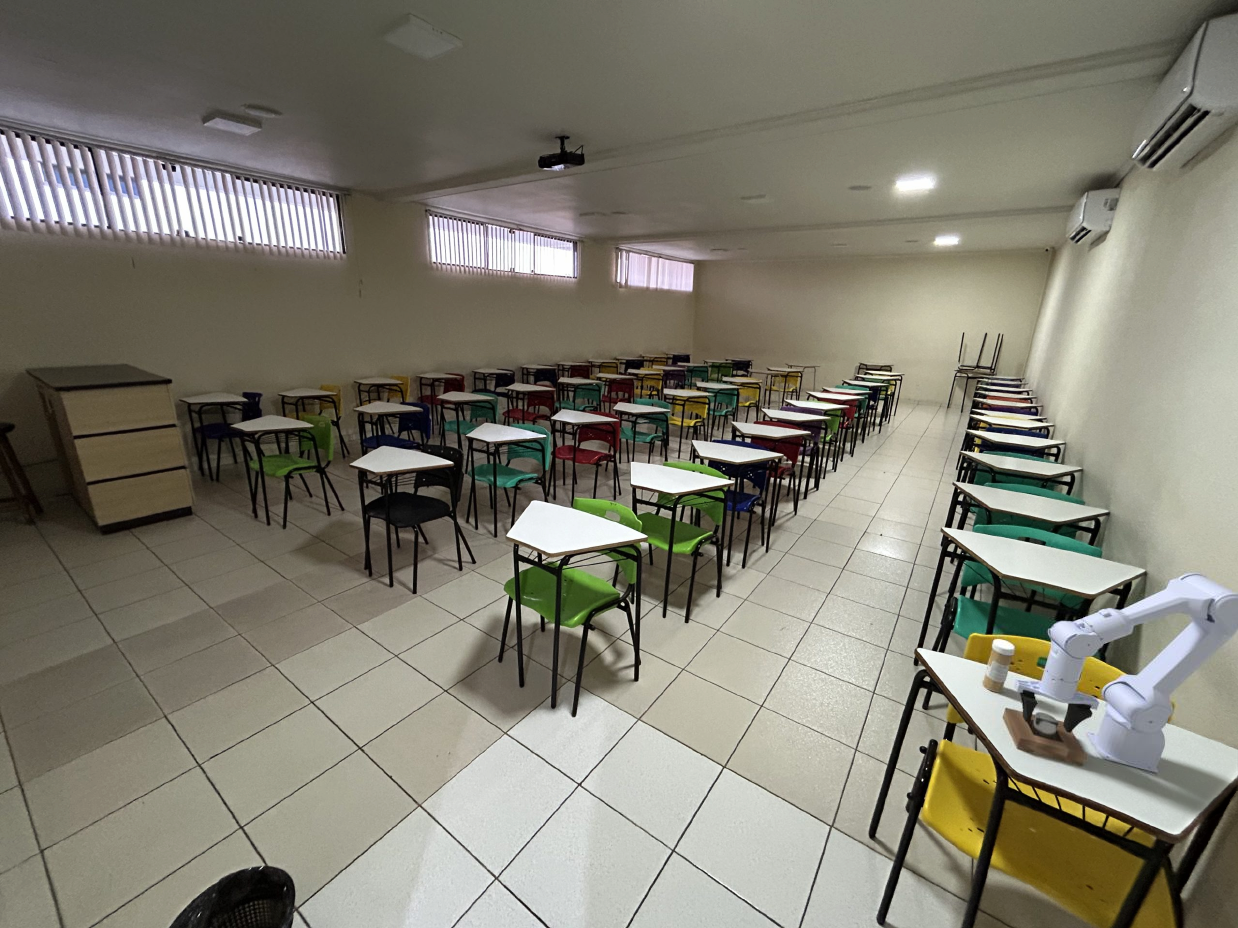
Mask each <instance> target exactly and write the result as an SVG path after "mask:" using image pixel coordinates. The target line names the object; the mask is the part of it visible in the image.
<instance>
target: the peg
mask: <svg viewBox="0 0 1238 928" xmlns="http://www.w3.org/2000/svg"><path fill="white" fill-rule="evenodd" d="M1034 715H1035V718H1034V721H1033V725H1032V728H1031V731H1032V733H1033V735H1035V736H1039V737H1043V738H1047V739H1051V740H1053V738H1054V735H1055V732H1056V729H1057V726H1058V721H1059V720H1058V719H1056V717H1054V716H1052V715H1051V714H1049V713H1045V712H1041V711H1038V712H1036V713H1035V714H1034ZM1057 720H1058V721H1057Z"/></svg>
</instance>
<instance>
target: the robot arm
mask: <svg viewBox="0 0 1238 928" xmlns="http://www.w3.org/2000/svg"><path fill="white" fill-rule="evenodd" d="M1178 613H1179V614H1183V615H1186V616H1188V615H1189V617H1190V620H1191V622H1190V623H1189V624H1188V625H1187V626H1186V627H1185V628H1184V629H1183V630H1182V631H1181V632H1180V633H1179V634H1178V635H1177V636H1176V637H1175V638H1174V639H1173V640H1172V641H1171V642H1170V643H1169V644H1168V645H1167V646H1166V647H1165V648H1164V649H1163V650H1162V651H1160V652H1159V654H1157V656H1156V657H1154V658H1153V660H1151V662H1149V663H1148V664H1147V665H1146V666H1145V667H1144V668H1143V669H1142V670H1141V671H1140V672H1139V673H1138V674H1137V675H1135V674H1121V675H1120V676H1119V677H1118V678H1117V679H1115V680H1113V681H1110V682H1108V683H1107V684H1106V685H1104V686H1103V688H1102V690H1101V696H1102V699H1103V700H1104V701H1105V704H1104V707H1105V712H1104V714H1103V718H1102V720H1101V723H1100V727H1099V729H1098V732H1097V733H1095V732H1091V731H1090V732H1089V731H1088V732H1087V733H1086V734H1087V737H1088V738H1089V739H1090V741H1091V743H1092V745H1094V747H1095V749H1096V750H1097V752H1098V753H1099V755H1100V757H1102V759H1104V760H1107V761H1110V762H1114V763H1118V764H1122V765H1125V766H1130V767H1134V768H1138V769H1142V770H1146V771H1149V772H1154V773H1158V772H1159V770H1158V769H1157V767H1158V764H1159V762H1160V759H1161V757H1162V754H1163V752H1164V750H1165V748H1166V739H1165V734H1164V732H1163V729H1164V728H1165V726H1166V725H1167V723H1168V720H1169V718H1170V717H1171V716H1172V714H1174V708H1173V704H1172V700H1171V697H1170V696H1171V695H1172V694H1173V693H1174V692H1175V691H1176V690H1177V689H1178V688H1179V687H1180V686H1181V685H1183V683H1184V682H1185V681H1186V680H1187V679H1188V678H1190V677H1191V676H1192V675H1193V674H1194V673H1195V672H1196V671H1197V670H1198V669H1199V668H1200V667H1202V666H1203V664H1205V663H1206V662H1207V661H1208V660H1209V659H1210V658H1211V657H1212V656H1214V655H1215V654H1216V652H1218V651H1219V650H1220V649H1221V648H1222V647H1223V646H1224V645H1225V644H1227V642H1229V640H1230V639H1232V638H1233V637H1234V636H1235V635H1236V633H1237V631H1238V593H1237V592H1235V591H1234V590H1231V589H1230V588H1228V587H1226V586H1225V585H1222V584H1220V583H1217V582H1216V581H1214V580H1212V579H1210V578H1208V577H1207V576H1206V575H1204V574H1202V573H1198V572H1189V573H1185V574H1183V575H1181V576H1179V577H1178V578H1174V579H1171V580H1170V581H1169V582H1168V583H1167V586H1166V588H1165V589H1163V590H1161V591H1158V592H1156V593H1154V594H1152V595H1150V596H1148V597H1145V598H1144V599H1142V600H1140V601H1136V602H1135V603H1133V604H1131V605H1129V606H1126V607H1124V608H1122V609H1116V608H1112V607H1107V608H1103V609H1099V610H1098V612H1097V611H1096V612H1095V613H1092V614H1090V615H1087V616H1085V617H1084V616H1083V618H1080V619H1077V620H1074V621H1070V620H1068V621H1067V620H1060V621H1057V622H1056V623H1054V624H1053V625H1052V626H1051V628H1048V629H1047V634H1048V636H1049V639H1050V644H1049V645H1050V646H1051V647H1050V650H1049V653H1048V656H1047V660H1046V663H1045V666H1044V670H1043V673H1042V677H1041V680H1023V679H1022V680H1021V679H1015V682H1014V689H1015V691H1016V692H1018V693H1019V695H1020V701H1021V705H1022V712H1023V718H1024V720H1025V722H1028V723H1029V722H1030V720H1031V717H1032V714H1033V712H1034V711H1035V709H1036V707H1037V706H1038V705H1039V703H1038V701H1037V699H1036V698H1037V697H1036V696H1035V695H1037V696H1042V697H1044V698H1047V699H1050V700H1052V701H1055V702H1058V703H1062V704H1067V709H1066V714H1065V717H1064V720H1063V722H1064V723H1063V726H1064V728H1065V730H1066V731H1067V732H1069V733H1071V732H1073V730H1074V729H1075V728H1076V727H1077V726H1079V724H1080V723H1082V722H1084V721H1085V720H1087V719H1089V718H1090V719H1091V718H1092V716H1093V711H1092V710H1096V711H1097V710H1098V708H1099V706H1100V705H1099V704H1100V702H1099V701H1098V699H1097V697H1095V696H1093V695H1089V694H1085V693H1082V692H1080V691H1077V687H1078V683H1079V680H1080V678H1081V677H1080V676H1081V675H1082V671H1083V667H1084V664H1085V662H1086V658H1090V657H1093V656H1094V655H1096V653H1098V651H1099V649H1102V648H1103V646H1104V644H1107V643H1110V642H1113V641H1115V640H1118V639H1120V638H1123V637H1126V636H1129V635H1132V633H1133V632H1134V628H1135V627H1136V626H1137V625H1140V624H1144V623H1148V622H1151V621H1155V620H1157V619H1161V618H1165V617H1168V616H1172V615H1175V614H1178ZM1134 626H1135V627H1134Z"/></svg>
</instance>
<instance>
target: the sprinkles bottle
mask: <svg viewBox="0 0 1238 928" xmlns="http://www.w3.org/2000/svg"><path fill="white" fill-rule="evenodd" d="M1015 651H1016V647H1015V645H1014V644H1012V642H1009V641H1008V640H1004V639H1000V638H997V639H996V638H995V639H993V641H992V644H991V652H990V655H989V659H988V663H987V665H986V669H985V673H984V674H985V675H984V678H983V680H982V685H983V686H984V687H985V688H986V690H987V689H988V690H989V691H991V692H994V693H1002V692H1003V691H1004V686H1005V682H1006V681H1007V676H1008V674H1009V668H1010V665H1011V661H1012V658H1013V655H1014V654H1015Z"/></svg>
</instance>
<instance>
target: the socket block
mask: <svg viewBox="0 0 1238 928" xmlns="http://www.w3.org/2000/svg"><path fill="white" fill-rule="evenodd" d="M1003 711H1004V712H1003V715H1002V720H1003V722H1004V723H1005V726H1006V728H1007V730H1008V732H1009V733H1008V734H1010V736H1011V740H1012V741H1013V743H1014V747H1016V749H1017V750H1022V751H1024V752H1025V751H1026V752H1029V753H1032V754H1036V755H1040V756H1044V757H1048V758H1052V759H1055V760H1058V761H1062V762H1066V763H1069V764H1074V765H1078V766H1081V767H1083V766H1084V765H1085V761H1086V759H1087V756H1088V754H1087V753H1086V751H1085V750H1084V748H1083V746H1082V745H1081V743H1080V742H1079V740H1078V738H1077V737H1076V735H1075V734H1074V732H1073V731H1072V732H1071V733H1069V732H1067V731H1066V730H1065V728H1064V726H1063V723H1064V721H1062V720H1058V719H1056V720H1057V721H1058V726H1057V729H1056V732H1055V735H1054V738H1053V740H1051V739H1047V738H1043V737H1039V736H1035V735H1033V733H1032V731H1031V728H1032V725H1033V721H1034V718H1035V715H1036V714H1033V713H1032V717H1031V720H1030V722H1029V723H1028V722H1025V720H1024V718H1023V710H1022V711H1021V710H1016V709H1015V708H1014V709H1013V708H1010V707H1009V708H1008V707H1005V708H1004V710H1003Z"/></svg>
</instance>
